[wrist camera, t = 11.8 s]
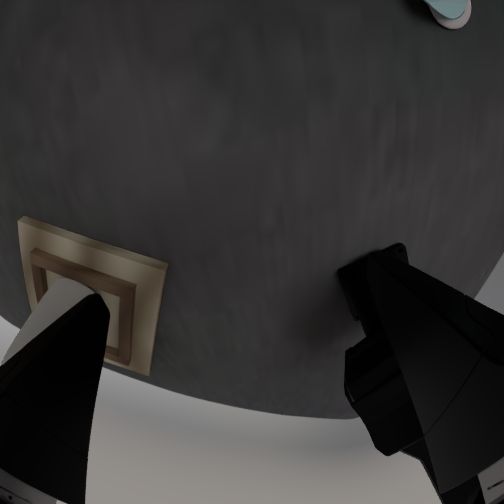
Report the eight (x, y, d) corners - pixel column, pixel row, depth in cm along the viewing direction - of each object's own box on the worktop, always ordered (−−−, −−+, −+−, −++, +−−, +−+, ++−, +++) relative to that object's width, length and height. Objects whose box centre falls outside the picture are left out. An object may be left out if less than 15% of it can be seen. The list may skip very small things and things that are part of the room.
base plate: (168, 263, 24) (162, 277, 22) (151, 368, 32) (147, 382, 30) (24, 215, 22) (11, 225, 20) (40, 325, 29) (33, 337, 27)
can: (116, 302, 24) (64, 415, 14) (97, 331, 27) (55, 426, 17) (60, 262, 22) (-10, 364, 12) (49, 298, 25) (-4, 386, 15)
